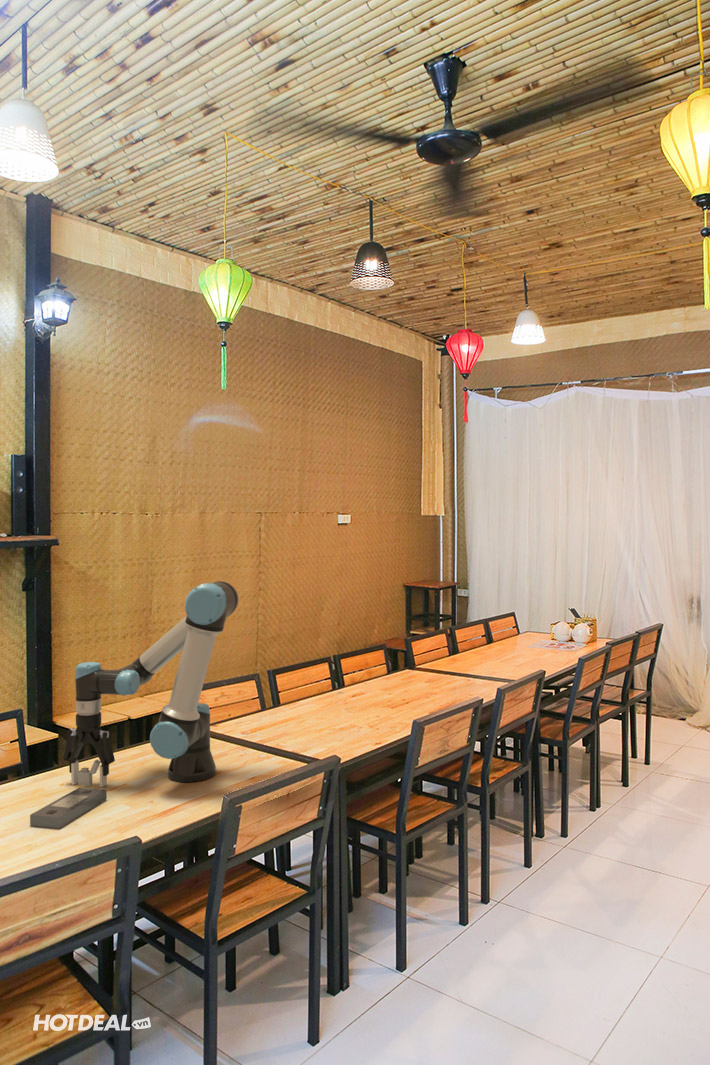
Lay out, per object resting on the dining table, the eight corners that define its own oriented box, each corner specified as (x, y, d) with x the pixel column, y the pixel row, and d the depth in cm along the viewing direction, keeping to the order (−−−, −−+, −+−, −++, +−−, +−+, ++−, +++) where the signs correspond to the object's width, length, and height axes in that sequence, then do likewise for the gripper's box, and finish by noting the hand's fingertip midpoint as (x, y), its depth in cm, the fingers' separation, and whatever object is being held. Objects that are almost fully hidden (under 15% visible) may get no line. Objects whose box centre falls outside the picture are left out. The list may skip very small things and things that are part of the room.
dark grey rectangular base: (106, 799, 218) (106, 788, 218) (59, 828, 197) (59, 816, 197) (79, 797, 221) (79, 786, 221) (30, 825, 199) (30, 814, 199)
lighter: (77, 785, 231) (77, 759, 231) (81, 783, 233) (80, 758, 233) (98, 787, 230) (97, 761, 230) (101, 785, 231) (101, 759, 231)
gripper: (50, 713, 230) (50, 785, 230) (113, 717, 225) (113, 791, 225) (65, 708, 237) (66, 777, 238) (126, 711, 232) (127, 783, 232)
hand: (89, 784), depth 231 cm, fingers open, 9 cm apart
